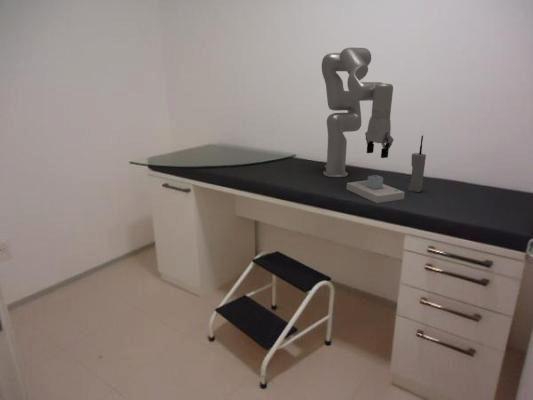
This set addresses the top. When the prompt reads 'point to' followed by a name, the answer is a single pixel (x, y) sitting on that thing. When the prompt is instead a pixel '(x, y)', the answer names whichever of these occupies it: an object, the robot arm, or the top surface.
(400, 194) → the outlet plate
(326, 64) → the robot arm
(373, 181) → the charger block
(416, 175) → the vintage mobile phone
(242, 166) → the top surface
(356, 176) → the top surface
